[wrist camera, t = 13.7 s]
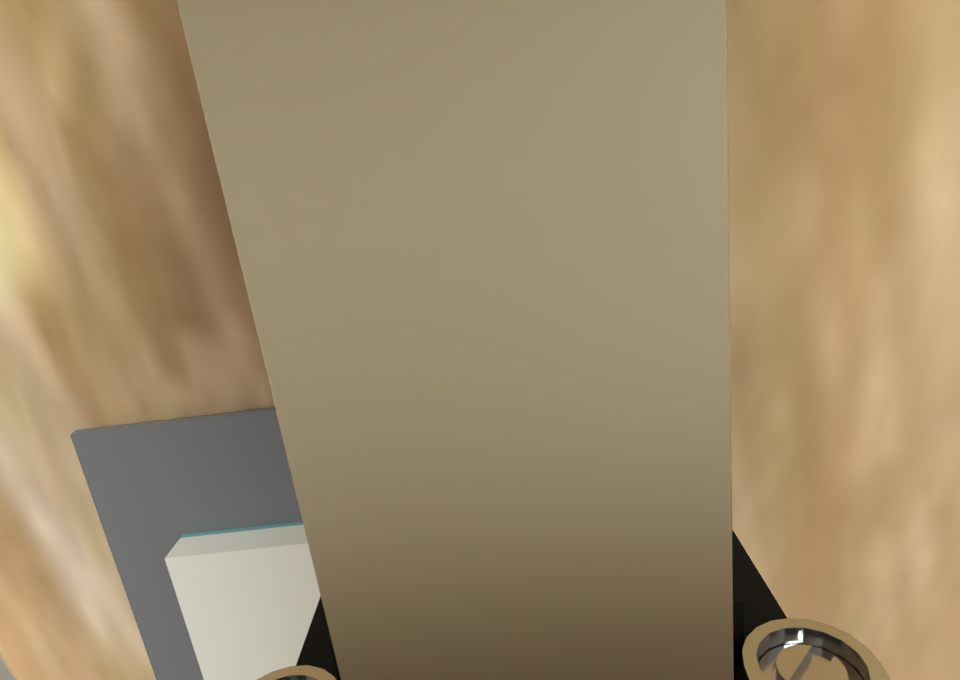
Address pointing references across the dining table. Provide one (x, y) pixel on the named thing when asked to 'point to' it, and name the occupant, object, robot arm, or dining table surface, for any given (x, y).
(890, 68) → the dining table surface
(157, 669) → the mat
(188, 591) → the tile
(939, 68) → the dining table surface
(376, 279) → the tan bar with plate
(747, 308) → the dining table surface
